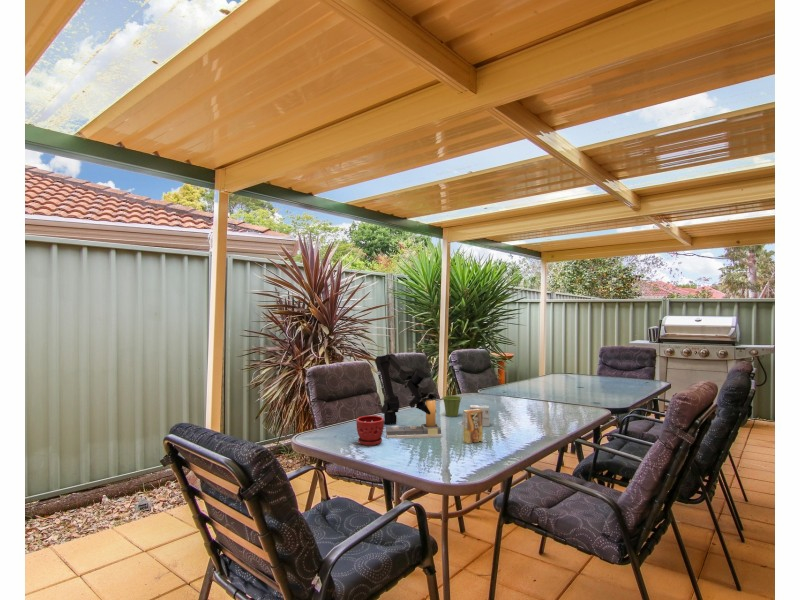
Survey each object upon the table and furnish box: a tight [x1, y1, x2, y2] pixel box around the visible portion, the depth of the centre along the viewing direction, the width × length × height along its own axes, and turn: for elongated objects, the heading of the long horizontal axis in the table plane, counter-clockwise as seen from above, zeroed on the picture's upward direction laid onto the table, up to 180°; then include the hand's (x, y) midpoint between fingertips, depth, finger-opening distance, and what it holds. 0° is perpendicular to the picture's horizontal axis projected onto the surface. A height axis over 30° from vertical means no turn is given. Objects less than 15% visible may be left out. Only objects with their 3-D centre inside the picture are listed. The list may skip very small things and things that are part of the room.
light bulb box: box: [469, 404, 491, 427], centre depth 255 cm, size 11×7×11 cm, turn 84°
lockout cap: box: [425, 399, 437, 427], centre depth 235 cm, size 5×5×13 cm
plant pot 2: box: [442, 395, 462, 418], centre depth 280 cm, size 12×12×11 cm
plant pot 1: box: [356, 415, 385, 446], centre depth 219 cm, size 13×13×12 cm
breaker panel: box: [384, 423, 443, 439], centre depth 234 cm, size 28×12×4 cm, turn 96°
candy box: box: [462, 409, 483, 444], centre depth 221 cm, size 9×4×15 cm, turn 116°
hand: (432, 413), depth 234 cm, fingers closed on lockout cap, 5 cm apart
